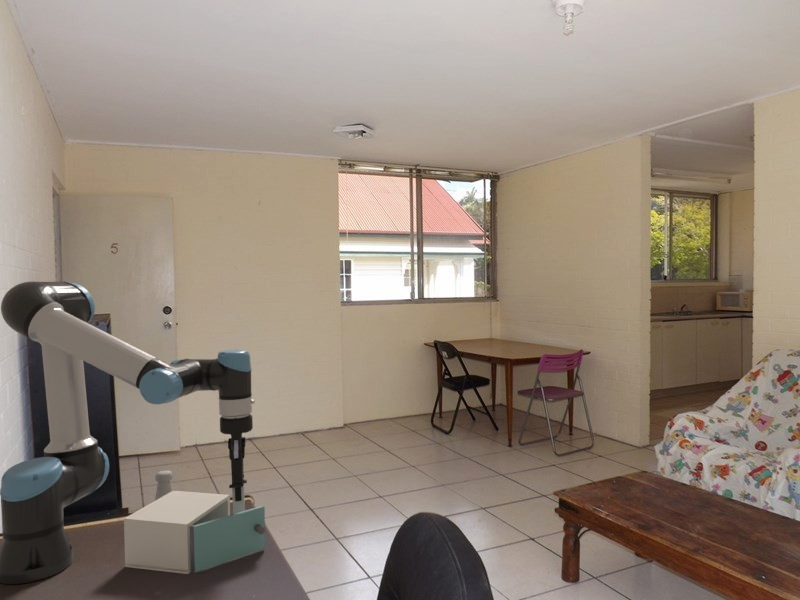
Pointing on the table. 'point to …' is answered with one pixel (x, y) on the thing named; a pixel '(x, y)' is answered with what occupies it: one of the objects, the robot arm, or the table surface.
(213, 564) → the side door
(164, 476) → the salt shaker
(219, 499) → the storage box
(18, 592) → the table surface
